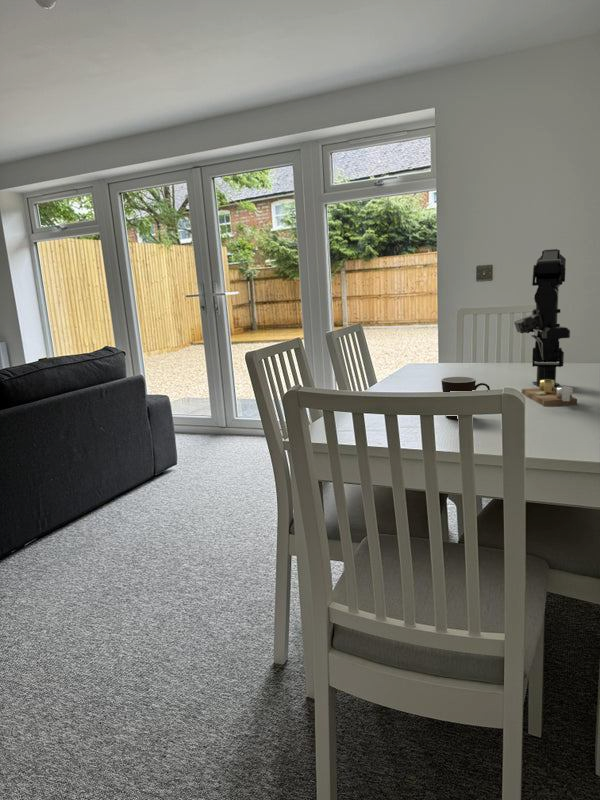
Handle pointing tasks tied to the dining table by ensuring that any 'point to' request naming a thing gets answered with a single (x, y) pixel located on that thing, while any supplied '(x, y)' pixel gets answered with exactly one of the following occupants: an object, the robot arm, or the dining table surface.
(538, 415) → the dining table surface
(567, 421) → the dining table surface
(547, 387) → the brass lever
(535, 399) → the copper base
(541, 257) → the robot arm
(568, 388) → the steel lever handle
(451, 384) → the coffee mug
